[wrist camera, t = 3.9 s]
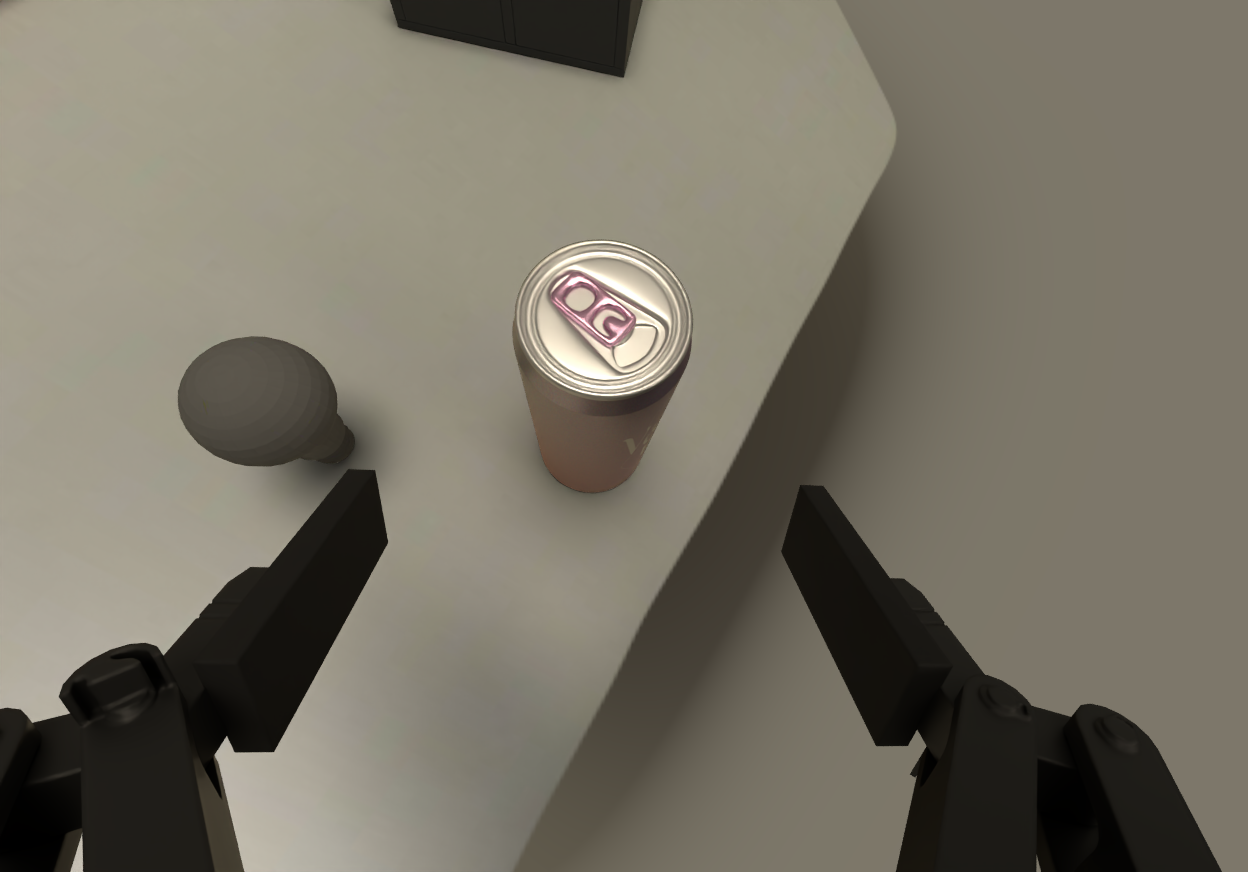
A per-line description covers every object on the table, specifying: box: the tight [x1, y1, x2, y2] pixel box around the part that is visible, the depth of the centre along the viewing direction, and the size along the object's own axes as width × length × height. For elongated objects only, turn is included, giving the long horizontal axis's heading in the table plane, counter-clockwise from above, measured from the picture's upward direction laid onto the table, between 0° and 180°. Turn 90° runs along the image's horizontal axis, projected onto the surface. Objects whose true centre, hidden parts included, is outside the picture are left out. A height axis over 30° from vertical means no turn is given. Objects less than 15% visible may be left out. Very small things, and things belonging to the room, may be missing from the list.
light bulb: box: [178, 337, 355, 466], centre depth 24 cm, size 6×6×10 cm
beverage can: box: [512, 240, 693, 493], centre depth 23 cm, size 6×6×15 cm
